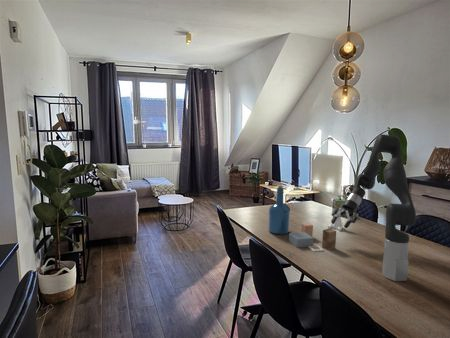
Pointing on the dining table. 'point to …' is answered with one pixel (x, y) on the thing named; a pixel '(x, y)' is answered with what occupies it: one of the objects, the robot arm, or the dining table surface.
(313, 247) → the tile
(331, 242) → the walnut block
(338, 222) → the white creature statuette
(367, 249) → the dining table surface
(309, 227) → the terracotta block
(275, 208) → the wine bottle
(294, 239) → the plinth
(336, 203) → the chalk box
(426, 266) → the dining table surface
